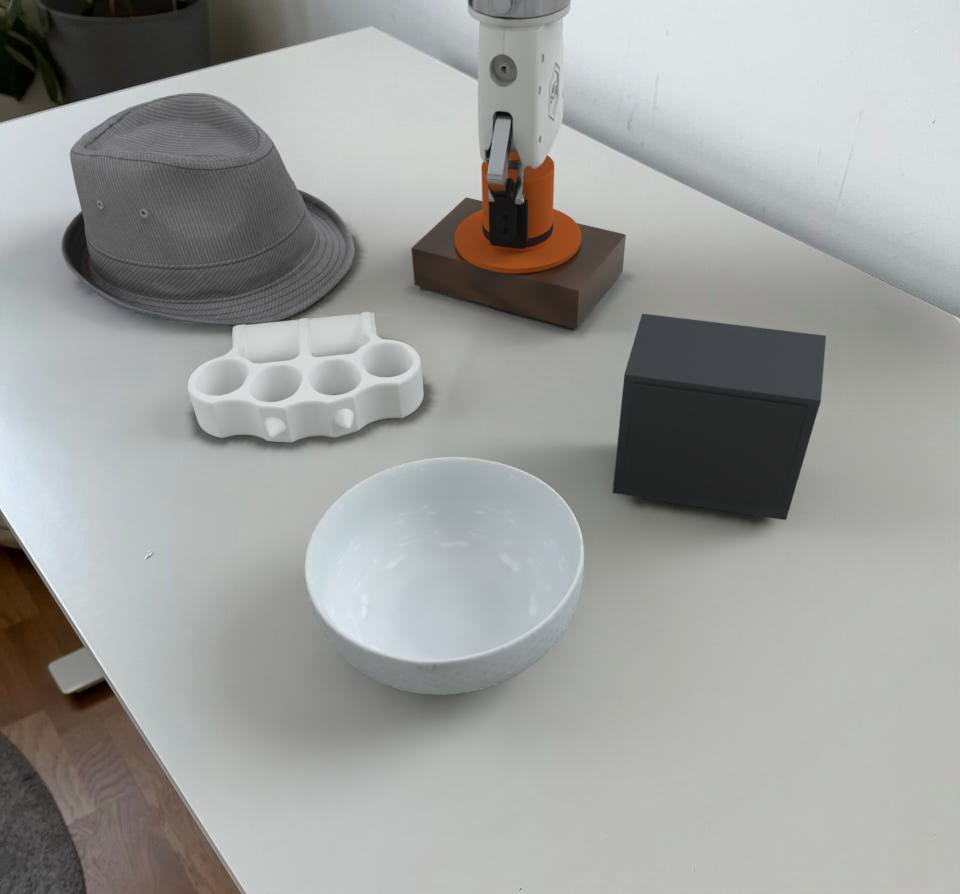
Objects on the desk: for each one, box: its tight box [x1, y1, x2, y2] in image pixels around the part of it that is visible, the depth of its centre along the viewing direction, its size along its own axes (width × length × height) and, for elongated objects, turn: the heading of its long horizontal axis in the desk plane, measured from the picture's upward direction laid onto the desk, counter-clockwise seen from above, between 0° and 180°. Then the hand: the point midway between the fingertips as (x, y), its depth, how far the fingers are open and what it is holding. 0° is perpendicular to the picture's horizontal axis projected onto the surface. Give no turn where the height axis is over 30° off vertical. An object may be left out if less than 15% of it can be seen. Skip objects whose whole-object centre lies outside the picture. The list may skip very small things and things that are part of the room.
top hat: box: [455, 152, 581, 274], centre depth 83 cm, size 11×11×6 cm
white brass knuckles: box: [187, 311, 425, 444], centre depth 78 cm, size 3×18×15 cm
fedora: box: [60, 92, 356, 327], centre depth 88 cm, size 24×27×12 cm
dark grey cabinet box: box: [612, 313, 827, 521], centre depth 67 cm, size 7×12×11 cm, turn 75°
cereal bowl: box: [303, 456, 585, 696], centre depth 61 cm, size 17×17×7 cm
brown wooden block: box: [411, 196, 627, 330], centre depth 87 cm, size 16×10×4 cm, turn 62°
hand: (518, 223), depth 85 cm, fingers closed on top hat, 6 cm apart
